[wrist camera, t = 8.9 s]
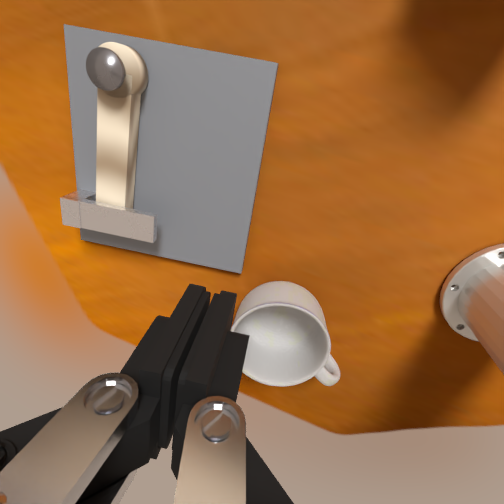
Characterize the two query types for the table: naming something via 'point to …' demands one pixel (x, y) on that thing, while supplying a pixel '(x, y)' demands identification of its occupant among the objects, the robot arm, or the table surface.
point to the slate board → (182, 145)
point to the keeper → (107, 217)
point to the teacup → (285, 336)
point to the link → (117, 119)
